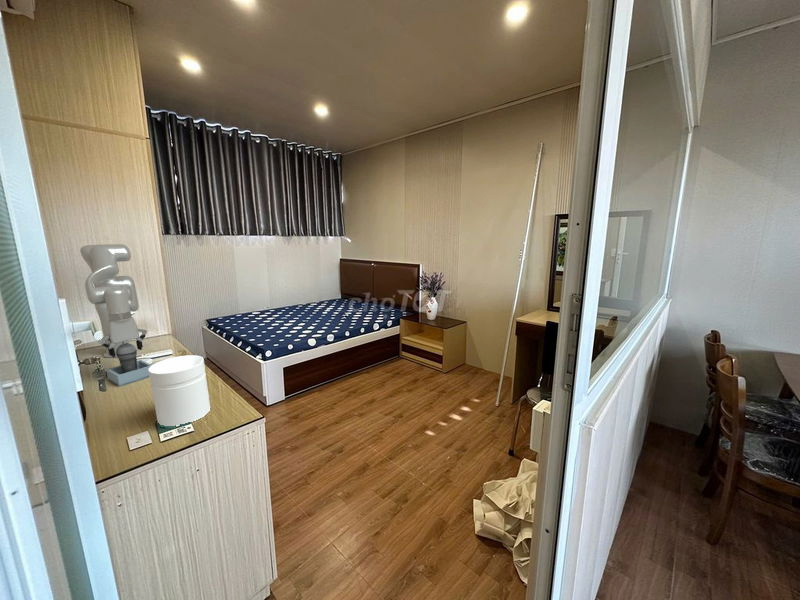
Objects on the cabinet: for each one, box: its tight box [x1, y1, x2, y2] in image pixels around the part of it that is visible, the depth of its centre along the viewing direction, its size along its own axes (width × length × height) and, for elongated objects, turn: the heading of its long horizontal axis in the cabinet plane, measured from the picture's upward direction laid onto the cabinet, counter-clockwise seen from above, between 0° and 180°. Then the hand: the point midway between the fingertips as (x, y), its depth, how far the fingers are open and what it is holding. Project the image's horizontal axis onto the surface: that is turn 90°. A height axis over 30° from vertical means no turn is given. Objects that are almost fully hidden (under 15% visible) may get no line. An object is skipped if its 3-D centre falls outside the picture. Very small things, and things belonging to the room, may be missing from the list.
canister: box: [148, 354, 211, 426], centre depth 113 cm, size 16×16×20 cm
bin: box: [105, 359, 153, 388], centre depth 145 cm, size 13×13×5 cm
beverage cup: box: [116, 342, 138, 373], centre depth 144 cm, size 7×7×20 cm
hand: (126, 352), depth 144 cm, fingers open, 9 cm apart
